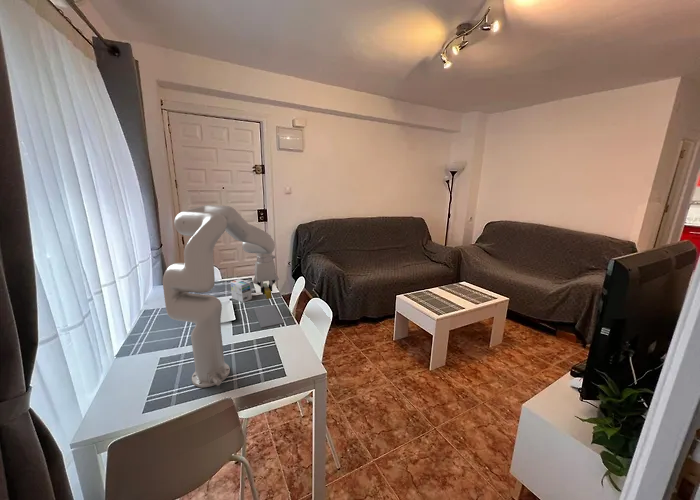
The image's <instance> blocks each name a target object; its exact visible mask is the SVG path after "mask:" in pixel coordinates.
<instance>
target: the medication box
mask: <svg viewBox="0 0 700 500" xmlns="http://www.w3.org/2000/svg"><path fill="white" fill-rule="evenodd" d="M268 285H269V284H268V283H266V282H265V283H264V282H263V286H264V291H265V294H264V296H265V297H264V298H266V300H269V299H270V300H271V299H272V297H273V296H272V291H271V290H270V289H269V286H268Z"/></svg>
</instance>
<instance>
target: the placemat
mask: <svg viewBox="0 0 700 500" xmlns="http://www.w3.org/2000/svg"><path fill="white" fill-rule="evenodd" d="M253 311H254V314H255V315H256V318H257V321H258V324H259V327H260V329H264V328H271V327H273V326H279V324H280V325H283V324H284V320H283V319H282V317H281V315H280V312H279V311H278V309H277V307H276V306H275V304H271V305H266V306H265V305H264V306H260V307H254V308H253Z"/></svg>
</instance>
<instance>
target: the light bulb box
mask: <svg viewBox="0 0 700 500" xmlns="http://www.w3.org/2000/svg"><path fill="white" fill-rule="evenodd" d="M251 284H252V283H251V281H247V280H243V279H240V278H238V279H235V280H231V281H230V290H231V291H230V293H231V298H232V299H233V300H236V301H238V302H241V303H245V302H248V301H250V300H252V299H253V294H252V285H251Z"/></svg>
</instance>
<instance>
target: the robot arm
mask: <svg viewBox="0 0 700 500" xmlns="http://www.w3.org/2000/svg"><path fill="white" fill-rule="evenodd" d="M173 226H174V229H175V231H176V232H177V233H179V234H180V235H182V236H187V237H190V238H189V240H188V241H187V243H186V244H185V246H184V249H183V261H184V262H175V263H172V264H171V265H169V266H168V267H167V268H166V269H165V271H164V274H163V277H162V288H163V296H164V297H163V298H164V304H165V310H166V315H167V316H168V317H169V318H170V319H172V320H174V321H179V322H186V323H187V322H188V323H194V325H195V326H194V328H193V329H192V331H191V333H190V342H191V346H192V355H193V360H194V361H193V362H194V369H195V371H194V372H193V374H192V375H191V383H192V384H193V385H194V386H195V387H197V388H211V387H213V386H221V384H222V382H223V381H225V380H226V379H227V378H228V376H229V375H230V372H231V368H230V365H229V364H228V363H226V362H225V356H224V354H225V353H224V345H223V337H222V325H221V322H222V321H221V318H222V309H223V307H222V306H223V305H222V302H221V300H220V299H219V298H218V297H216V296H213V295H209V294H204V293H208V292H210V291H211V290H213V288H214V287H215V283H216V282H215V279H216V278H215V265H214V249H215V246H216V244H217V242H218V241H219V239H220V238H221V237H222V236H223V234H225V232H226V233H227V234H228V235H229V236H230V237H232V238H233V239H234V240H236V241H238V242H241V243H242V244H241V247H242V250H243V251H244V252H245V253H249V254H256V261H255V262H254V277H253V280H252V283H253V284H254V285H257V286H259V287H260V293H261V294H262V295H264V294H265V291H264V286H263V283H264V282H268V284H267V285H268V287H269V289H270V290H271V292H273V285H274V284H275V283H276V282H277V281H279V280H280V278H279V276H278V275H277V269H276V264H275V260H274V259H276V255H273V252H274V251H275V248H276V244H275V242H274V241H275V240H274V239H273V238H272V235H271V234H269V233H268V232H267V231H265V230H264V229H261V228H259V227H257V226H255V225H252V224H250V223H248V222H247V220H245V218H244V217H243V216H242V215H241V214H240V213H239V212H238V211H237V210H236V208H235V207H232V206H230V205H215V204H214V205H213V204H207V205H201V206H198V207H194V208H190V209H186V210H182V211H181V212H179V213H178V214H177V215H176V216H175V217H174V220H173ZM264 296H265V295H264Z"/></svg>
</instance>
